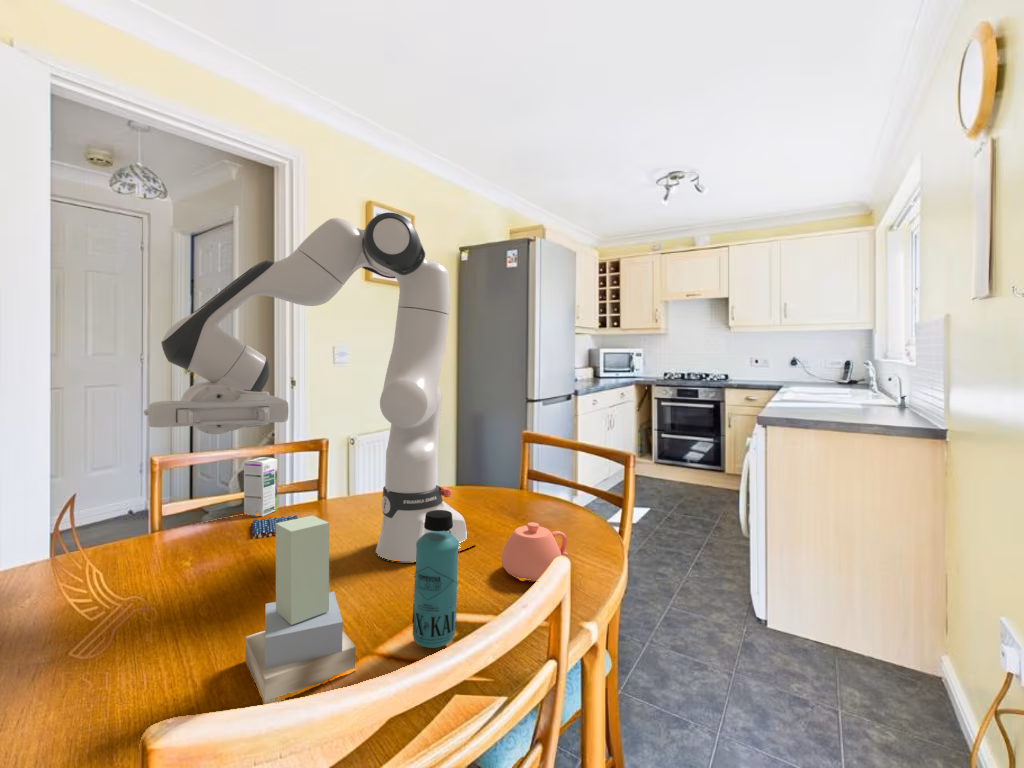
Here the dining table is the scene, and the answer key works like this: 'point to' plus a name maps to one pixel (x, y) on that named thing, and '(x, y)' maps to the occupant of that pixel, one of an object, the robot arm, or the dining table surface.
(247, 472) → the syrup box
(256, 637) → the tower base
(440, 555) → the beverage bottle
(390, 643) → the dining table surface
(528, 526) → the sugar bowl
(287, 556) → the sage block
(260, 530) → the blue studded pad
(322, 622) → the tower top
